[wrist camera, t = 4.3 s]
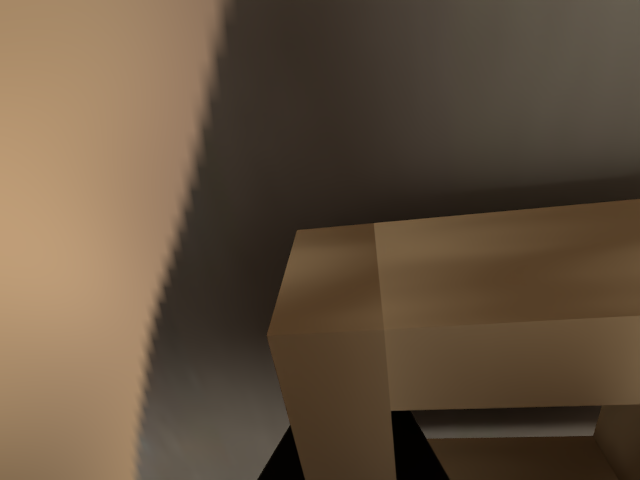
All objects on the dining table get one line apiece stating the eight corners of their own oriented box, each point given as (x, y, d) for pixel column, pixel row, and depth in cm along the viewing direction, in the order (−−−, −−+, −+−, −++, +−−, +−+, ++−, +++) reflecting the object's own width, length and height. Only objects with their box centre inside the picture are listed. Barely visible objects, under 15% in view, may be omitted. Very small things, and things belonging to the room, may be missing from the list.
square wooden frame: (761, 187, 7) (1032, 294, 4) (643, 471, 10) (743, 623, 8) (297, 230, 8) (266, 335, 5) (342, 472, 11) (339, 606, 9)
